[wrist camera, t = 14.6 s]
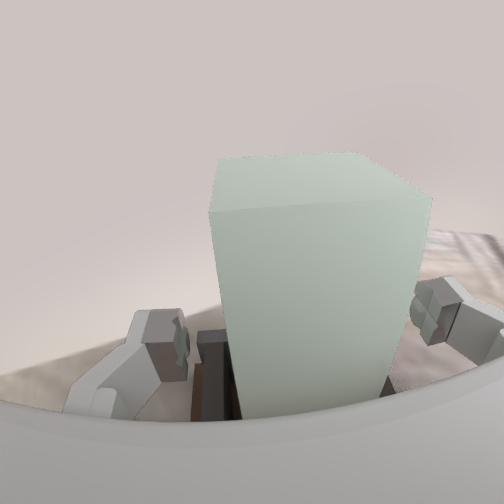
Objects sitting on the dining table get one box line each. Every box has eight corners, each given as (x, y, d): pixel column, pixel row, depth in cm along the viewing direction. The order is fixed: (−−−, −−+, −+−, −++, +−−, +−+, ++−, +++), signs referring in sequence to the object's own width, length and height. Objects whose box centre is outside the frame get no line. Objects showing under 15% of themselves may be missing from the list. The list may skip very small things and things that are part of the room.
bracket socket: (190, 536, 10) (159, 519, 8) (197, 372, 21) (182, 320, 18) (418, 499, 10) (459, 467, 8) (363, 353, 21) (375, 300, 19)
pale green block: (254, 475, 13) (208, 212, 6) (248, 395, 18) (219, 156, 11) (349, 461, 13) (432, 198, 6) (328, 385, 18) (351, 149, 11)
